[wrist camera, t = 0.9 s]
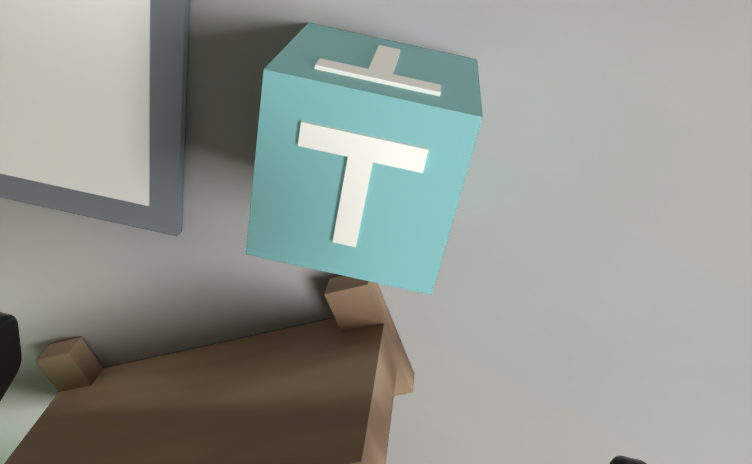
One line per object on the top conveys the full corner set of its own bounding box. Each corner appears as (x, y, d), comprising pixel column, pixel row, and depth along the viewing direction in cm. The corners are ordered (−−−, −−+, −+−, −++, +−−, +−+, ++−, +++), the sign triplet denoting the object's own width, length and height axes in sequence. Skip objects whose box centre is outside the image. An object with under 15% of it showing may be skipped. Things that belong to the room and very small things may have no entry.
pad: (181, 230, 22) (176, 237, 22) (-68, 175, 23) (-77, 181, 22) (191, -40, 18) (184, -38, 18) (-121, -108, 18) (-134, -108, 18)
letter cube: (436, 207, 21) (431, 297, 17) (289, 175, 21) (244, 256, 17) (477, 55, 18) (484, 114, 14) (309, 18, 18) (262, 66, 14)
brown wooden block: (414, 373, 25) (399, 538, 19) (112, 430, 28) (17, 584, 22) (371, 268, 22) (338, 416, 16) (49, 344, 26) (-75, 488, 20)
